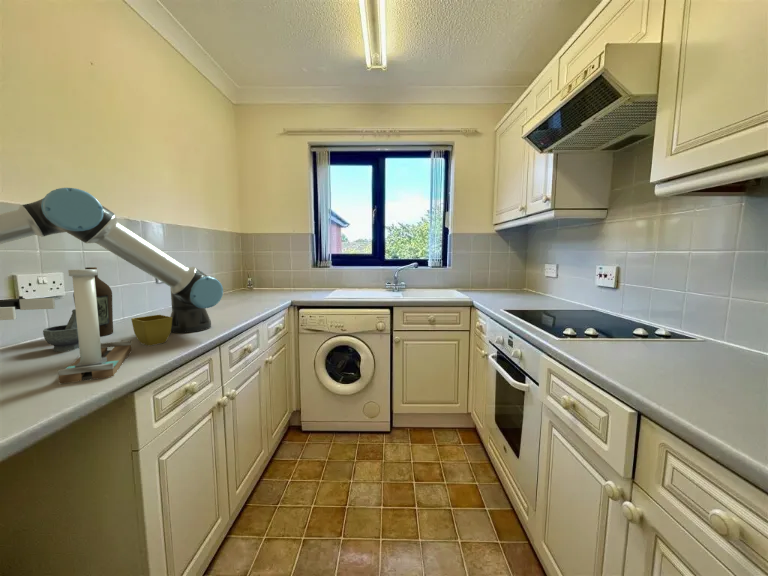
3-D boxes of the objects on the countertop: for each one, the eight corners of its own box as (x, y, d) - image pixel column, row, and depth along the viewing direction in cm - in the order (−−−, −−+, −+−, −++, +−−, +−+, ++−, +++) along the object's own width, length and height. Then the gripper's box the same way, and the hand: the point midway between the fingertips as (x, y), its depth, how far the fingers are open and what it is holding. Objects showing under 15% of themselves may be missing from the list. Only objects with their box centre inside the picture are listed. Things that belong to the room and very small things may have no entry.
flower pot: (161, 338, 115) (159, 314, 114) (174, 342, 111) (172, 316, 110) (132, 344, 108) (130, 318, 107) (145, 349, 103) (143, 321, 102)
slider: (107, 360, 86) (99, 269, 83) (102, 366, 81) (93, 270, 78) (81, 363, 83) (72, 269, 80) (74, 370, 79) (64, 270, 76)
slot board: (132, 350, 102) (131, 340, 101) (113, 376, 81) (112, 364, 80) (90, 354, 97) (89, 344, 96) (59, 383, 76) (57, 370, 76)
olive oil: (76, 334, 120) (69, 267, 117) (113, 329, 127) (108, 266, 124) (78, 340, 112) (71, 268, 109) (117, 334, 120) (111, 267, 117)
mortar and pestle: (68, 353, 98) (64, 314, 97) (36, 353, 98) (31, 314, 96) (98, 342, 109) (95, 308, 108) (69, 343, 109) (66, 308, 107)
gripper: (-37, 317, 82) (68, 313, 89) (-159, 345, 59) (-5, 336, 66) (-41, 288, 82) (65, 286, 88) (-167, 304, 58) (-9, 300, 65)
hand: (36, 307), depth 77 cm, fingers open, 13 cm apart
